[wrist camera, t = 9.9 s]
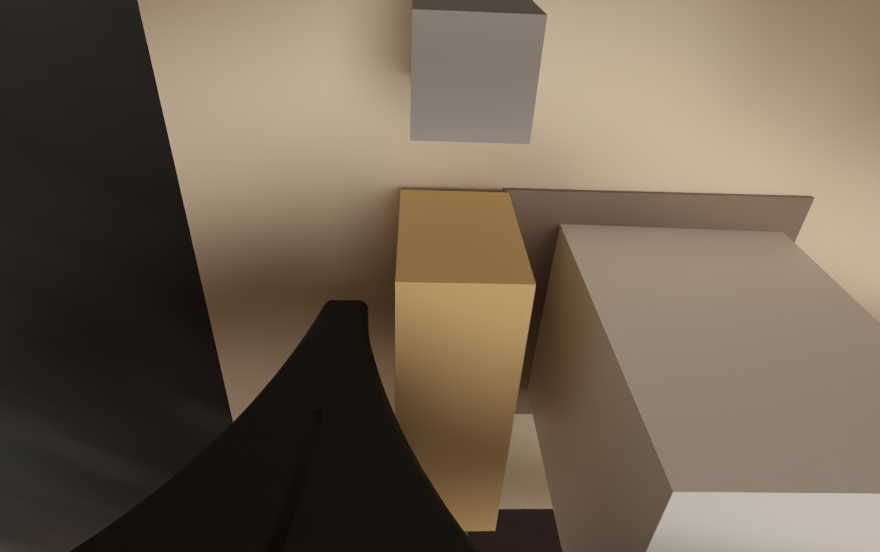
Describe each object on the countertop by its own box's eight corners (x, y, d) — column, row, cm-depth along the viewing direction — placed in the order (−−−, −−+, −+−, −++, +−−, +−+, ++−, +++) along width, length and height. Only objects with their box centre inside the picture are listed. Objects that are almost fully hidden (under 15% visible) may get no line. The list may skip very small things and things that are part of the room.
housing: (711, 393, 14) (919, 753, 8) (527, 390, 14) (607, 759, 8) (782, 231, 11) (1156, 584, 6) (559, 223, 11) (711, 584, 5)
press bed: (788, 479, 18) (872, 615, 14) (261, 479, 17) (222, 622, 14) (1095, -34, 10) (1434, 4, 7) (147, -81, 9) (-8, -62, 6)
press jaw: (481, 416, 14) (494, 530, 12) (399, 416, 14) (395, 531, 11) (508, 192, 11) (536, 284, 8) (400, 189, 11) (394, 282, 8)
